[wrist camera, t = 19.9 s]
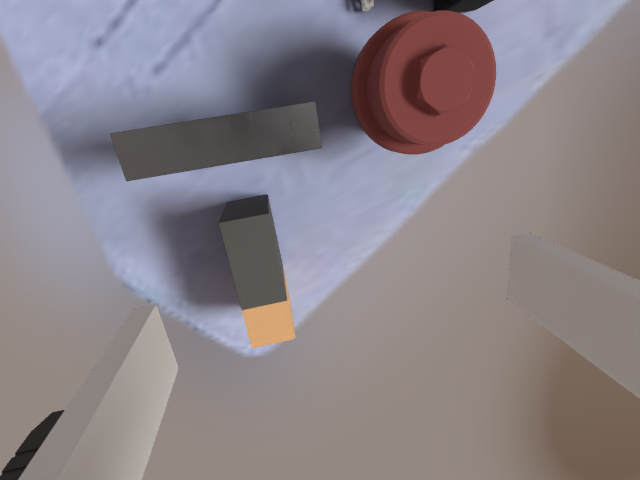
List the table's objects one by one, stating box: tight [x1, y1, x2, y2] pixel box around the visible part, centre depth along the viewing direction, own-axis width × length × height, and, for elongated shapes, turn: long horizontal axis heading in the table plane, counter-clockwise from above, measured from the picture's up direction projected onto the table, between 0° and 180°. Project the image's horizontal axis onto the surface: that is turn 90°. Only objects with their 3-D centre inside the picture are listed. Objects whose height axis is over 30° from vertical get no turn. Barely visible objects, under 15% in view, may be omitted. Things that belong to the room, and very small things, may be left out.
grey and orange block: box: [219, 195, 295, 348], centre depth 33 cm, size 12×4×8 cm, turn 9°
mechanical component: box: [351, 11, 496, 154], centre depth 28 cm, size 12×10×10 cm
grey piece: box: [110, 101, 322, 181], centre depth 27 cm, size 3×13×11 cm, turn 99°
